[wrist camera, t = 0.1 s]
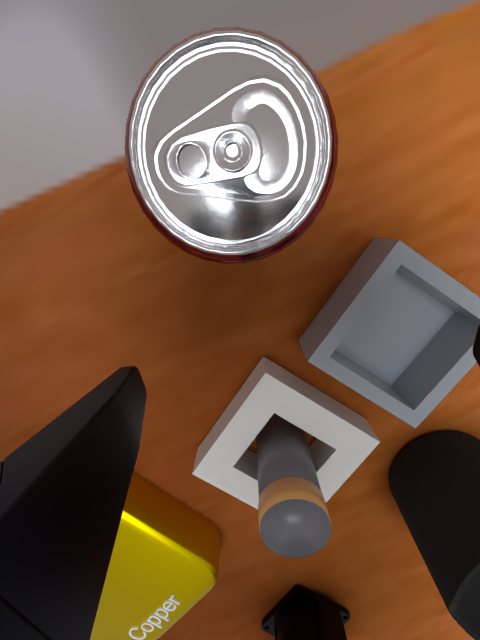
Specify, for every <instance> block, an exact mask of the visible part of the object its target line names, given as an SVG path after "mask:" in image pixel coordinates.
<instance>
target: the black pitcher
mask: <svg viewBox="0 0 480 640" xmlns="http://www.w3.org/2000/svg"><path fill="white" fill-rule="evenodd" d="M390 487H391V491H392V494H393V496H394V498H395V501H396V503H397V505H398V507H399V509H400V511H401V514H402V516H403V518H404V520H405V522H406V524H407V526H408V528H409V531H410V533H411V535H412V537H413V539H414V541H415V543H416V545H417V547H418V549H419V551H420V553H421V555H422V557H423V559H424V561H425V564H426V566H427V568H428V570H429V572H430V574H431V576H432V578H433V580H434V582H435V584H436V586H437V588H438V590H439V592H440V594H441V596H442V598H443V601H444V603H445V605H446V607H447V609H448V611H449V613H450V614H451V615H452V617H453V618H454V619H455V620H456V622H457V623H458V624H459V625H460V626H461V627H462V628H463V629H464V630H465V631H466V632H467V633H468V634H469V635H470V636H471V637H472V638H474V639H475V640H480V440H478V439H477V438H475V437H472V436H470V435H467V434H464V433H459V432H437V433H432V434H428V435H425V436H423V437H420V438H418V439H416V440H415V441H413V442H412V443H410V444H409V445H408V446H406V447H405V448H404V449H403V450H402V451H401V452H400V454H399V455H398V456H397V458H396V460H395V461H394V464H393V466H392V469H391V473H390Z"/></svg>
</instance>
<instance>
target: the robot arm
mask: <svg viewBox="0 0 480 640" xmlns="http://www.w3.org/2000/svg"><path fill="white" fill-rule="evenodd" d="M473 356H474V358H475V360H476V361H477V363H478V365H479V366H480V325H479V326H478V329H477V333H476V337H475V340H474V344H473ZM146 396H147V394H146V388H145V385H144V383H143V380H142V377H141V375H140V372H139V370H138V368H137V367H135V366H129V367H122V368H120V369H118V370H117V371H116V372H114V373H113V374H112V375H111V376H109V377H108V378H107V379H105V380H104V381H103V382H102V383H100V384H99V385H98V386H97V387H95V388H94V389H93V390H91V391H90V392H89V393H88V394H86V395H85V396H84V397H83V398H81V399H80V400H79V401H77V402H76V403H75V404H74V405H72V406H71V407H70V408H69V409H67V410H66V411H65V412H63V413H62V414H61V415H60V416H58V417H57V418H56V419H55V420H53V421H52V422H51V423H49V424H48V425H47V426H46V427H44V428H43V429H42V430H41V431H39V432H38V433H37V434H35V435H34V436H33V437H32V438H30V439H29V440H28V441H27V442H25V443H24V444H23V445H21V446H20V447H19V448H18V449H16V450H15V451H14V452H13V453H11V454H10V455H9V456H7V457H6V458H5V459H4V461H1V462H0V640H90V637H91V633H92V629H93V625H94V622H95V618H96V614H97V610H98V606H99V602H100V598H101V594H102V591H103V587H104V583H105V579H106V575H107V571H108V567H109V563H110V560H111V556H112V552H113V548H114V544H115V540H116V536H117V532H118V529H119V525H120V521H121V517H122V513H123V509H124V505H125V502H126V498H127V494H128V490H129V486H130V482H131V478H132V474H133V471H134V467H135V463H136V459H137V455H138V451H139V446H140V440H141V433H142V426H143V418H144V411H145V404H146ZM349 619H350V614H349V611H348V610H346V609H344V608H342V607H340V606H338V605H336V604H334V603H332V602H330V601H328V600H327V599H325V598H323V597H321V596H319V595H317V594H315V593H313V592H311V591H309V590H307V589H305V588H303V587H301V586H296V587H295V588H293V590H292V591H291V592H290V593H289V594H288V595H287V596H286V597H285V598H284V599H283V600H282V601H281V602H280V603H279V604H278V605H277V606H276V607H275V608H274V610H273V611H272V612H271V613H270V614H269V615H268V616H267V617H266V618H265V619H264V620H263V621H262V629H263V630H264V631H266V632H268V633H270V634H272V635H274V636H275V640H347V638H346V634H345V630H344V626H343V625H344V624H345V623H346V622H347V621H348V620H349Z"/></svg>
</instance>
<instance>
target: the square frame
mask: <svg viewBox="0 0 480 640" xmlns="http://www.w3.org/2000/svg"><path fill="white" fill-rule="evenodd" d="M274 413H275V414H277V415H278V416H280V417H282V418H284V419H285V420H287V421H289V422H290V423H292V424H294V425H295V426H297V427H299V428H301V429H302V430H304V431H306V432H307V433H309V434H311V435H312V436H314V437H316V439H315V441H314V442H313V443H312V444H311V445H310V447H309V449H310V453H311V456H312V460H313V463H314V467H315V471H316V474H317V478H318V481H319V485H320V488H321V492H322V494H323V496H324V499H325V503H326V502H327V501H328V500H329V499H330V498H331V497H332V495H333V494H334V493H335V492H336V491H337V490H338V489H339V488H340V487H341V485H342V484H343V483H344V482H345V481H346V480H347V479H348V478H349V477H350V475H351V474H352V473H353V472H354V471H355V470H356V469H357V468H358V466H359V465H360V464H361V463H362V462H363V461H364V460H365V459H366V458H367V456H368V455H369V454H370V453H371V452H372V451H373V450H374V449H375V447H376V446H377V445H378V444H379V443H380V441H379V439H378V438H377V436H376V434H375V433H374V431H373V430H372V428H371V426H370V425H369V423H368V422H367V420H366V419H365V418H364V417H362V416H360V415H359V414H357V413H355V412H354V411H352V410H351V409H349V408H347V407H346V406H344V405H342V404H341V403H339V402H337V401H336V400H334V399H333V398H331V397H329V396H328V395H326V394H324V393H323V392H321V391H320V390H318V389H316V388H315V387H313V386H311V385H310V384H308V383H306V382H305V381H303V380H302V379H300V378H298V377H297V376H295V375H293V374H292V373H290V372H288V371H287V370H285V369H284V368H282V367H280V366H279V365H277V364H275V363H274V362H272V361H270V360H269V359H267V358H266V357H264V356H263V358H262V359H261V360H260V362H259V363H258V365H257V366H256V367H255V369H254V370H253V372H252V373H251V374H250V376H249V377H248V379H247V380H246V381H245V383H244V384H243V386H242V387H241V388H240V390H239V391H238V393H237V394H236V395H235V397H234V398H233V400H232V401H231V402H230V404H229V405H228V407H227V408H226V409H225V411H224V412H223V414H222V415H221V416H220V418H219V419H218V421H217V422H216V423H215V425H214V426H213V428H212V429H211V431H210V432H209V433H208V435H207V436H206V438H205V439H204V440H203V442H202V443H201V445H200V446H199V447H198V450H197V454H196V459H195V463H194V468H193V472H192V474H193V475H195V476H197V477H199V478H200V479H202V480H204V481H206V482H208V483H210V484H212V485H213V486H215V487H217V488H219V489H221V490H223V491H225V492H226V493H228V494H230V495H232V496H234V497H236V498H238V499H239V500H241V501H243V502H245V503H247V504H249V505H251V506H253V507H254V508H256V509H258V501H259V493H258V469H257V454H255V453H253V452H252V451H250V450H248V449H247V448H248V447H249V445H250V444H251V443H252V441H253V440H254V439H255V438H256V436H257V435H258V434H259V432H260V431H261V430H262V428H263V427H264V426H265V424H266V423H267V422H268V421H269V419H270V418H271V417H272V415H273V414H274Z"/></svg>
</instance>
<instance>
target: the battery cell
mask: <svg viewBox="0 0 480 640" xmlns="http://www.w3.org/2000/svg"><path fill="white" fill-rule="evenodd" d="M256 446H257V469H258V493H259V501H258V512H259V531H260V535H261V538H262V540H263V542H264V544H265V545H266V546H267V547H268V548H269V549H270V550H271V551H273V552H275V553H277V554H279V555H282V556H285V557H292V558H297V557H305V556H308V555H311V554H313V553H315V552H317V551H319V550H320V549H321V548H322V547H324V545H325V544H326V543H327V541H328V540H329V538H330V534H331V521H330V517H329V513H328V510H327V506H326V503H325V499H324V496H323V494H322V492H321V488H320V485H319V481H318V478H317V474H316V471H315V467H314V463H313V460H312V456H311V453H310V449H309V446H308V442H307V439H306V435H305V431H304V430H302V429H301V428H299V427H297V426H295V425H294V424H292V423H290V422H289V421H287V420H285V419H284V418H282V417H280V416H278V415H277V414H275V413H274V414H273V415H272V417H271V418H270V419H269V421H268V422H267V423H266V424H265V426H264V427H263V428H262V430H261V431H260V432H259V434H258V435H257V436H256Z"/></svg>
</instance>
